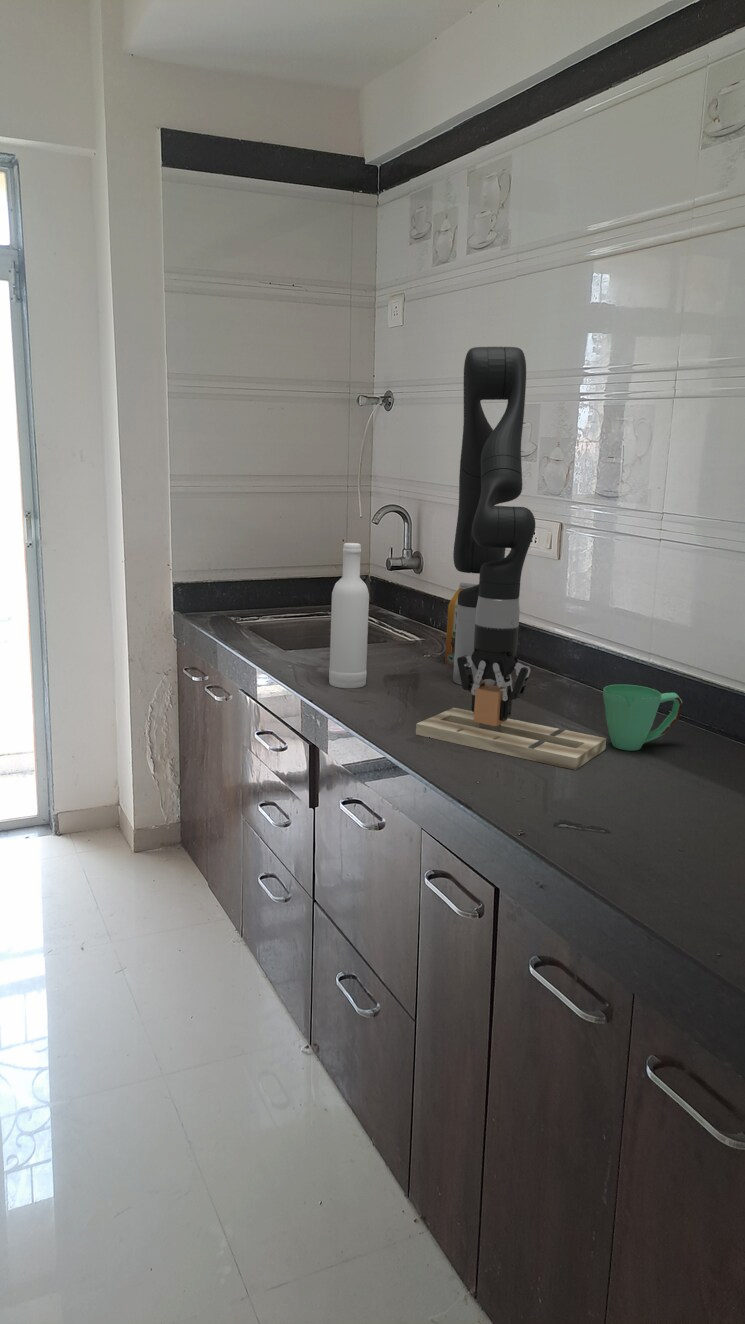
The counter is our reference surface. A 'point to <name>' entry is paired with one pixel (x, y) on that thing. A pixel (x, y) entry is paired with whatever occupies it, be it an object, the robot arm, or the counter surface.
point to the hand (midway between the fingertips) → (490, 716)
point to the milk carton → (453, 624)
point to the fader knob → (488, 707)
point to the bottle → (349, 624)
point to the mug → (636, 714)
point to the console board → (515, 739)
